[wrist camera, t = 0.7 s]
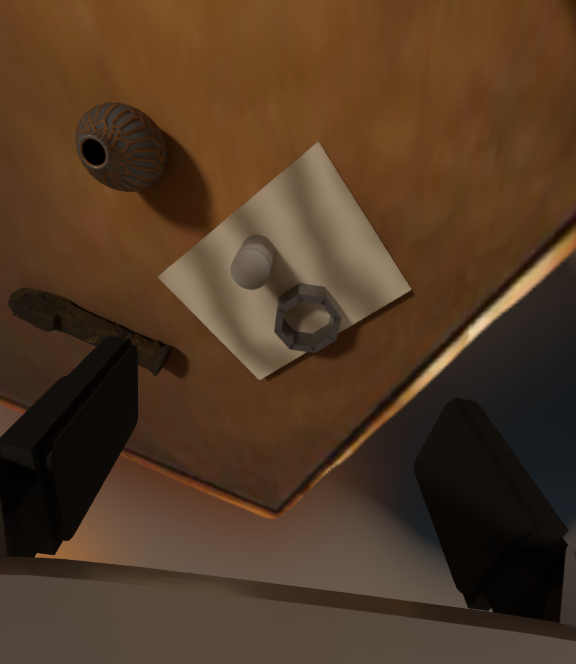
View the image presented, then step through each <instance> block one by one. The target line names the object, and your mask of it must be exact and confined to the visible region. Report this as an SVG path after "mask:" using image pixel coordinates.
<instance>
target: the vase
mask: <svg viewBox="0 0 576 664" xmlns="http://www.w3.org/2000/svg"><path fill="white" fill-rule="evenodd" d="M75 140H76V148H77V152H78V155H79V158H80V160H81V162H82V163H83V165H84V167H85V168H86V169H87V171H88V172H89V173H90V174H91V175H92V176H93V177H94V178H95V179H96V180H98V181H99V182H100V183H102V184H104V185H106V186H108V187H110V188H112V189H115V190H119V191H125V192H136V191H140V190H144V189H146V188H148V187H150V186H152V185H153V184H155V183H156V182H157V181H158V180H159V179H160V177H161V176H162V174H163V173H164V171H165V168H166V164H167V156H168V154H167V146H166V142H165V139H164V137H163V135H162V133H161V131H160V129H159V128H158V126H157V125H156V124H155V123H154V121H153V120H152V119H151V118H150V117H149V116H147V115H146V114H145V113H143V112H142V111H140V110H139V109H137V108H135V107H132V106H130V105H126V104H122V103H104V104H100V105H97V106H95V107H93V108H92V109H90V110H89V111H88V112H86V113H85V114H84V116H83V117H82V118H81V120H80V122H79V124H78V126H77V129H76V137H75Z"/></svg>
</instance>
